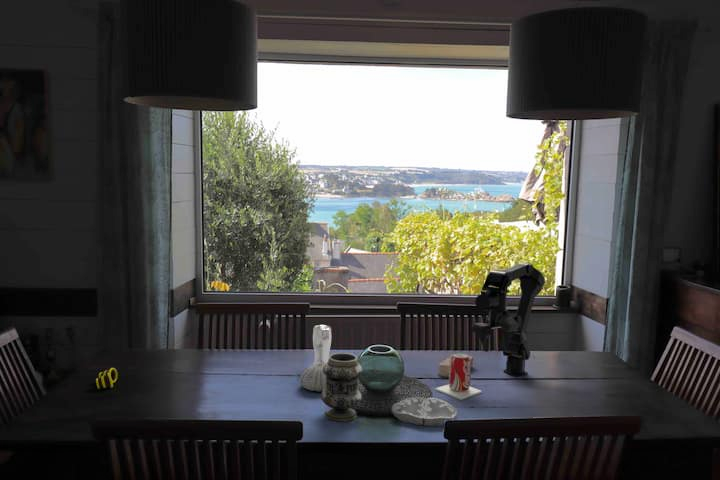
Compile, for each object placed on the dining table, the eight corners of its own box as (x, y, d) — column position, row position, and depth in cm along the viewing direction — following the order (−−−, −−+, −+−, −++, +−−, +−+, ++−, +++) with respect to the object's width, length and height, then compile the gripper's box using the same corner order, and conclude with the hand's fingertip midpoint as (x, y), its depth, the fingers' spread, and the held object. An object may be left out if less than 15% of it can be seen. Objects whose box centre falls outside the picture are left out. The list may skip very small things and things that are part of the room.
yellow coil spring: (102, 382, 197) (99, 369, 197) (118, 379, 199) (115, 365, 198) (96, 392, 188) (93, 378, 187) (113, 388, 189) (110, 374, 188)
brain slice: (456, 408, 180) (456, 399, 180) (457, 431, 164) (457, 421, 163) (394, 403, 183) (394, 394, 183) (388, 425, 167) (388, 415, 166)
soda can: (459, 394, 190) (461, 359, 189) (444, 388, 195) (445, 353, 194) (474, 390, 194) (475, 355, 193) (458, 384, 200) (460, 350, 199)
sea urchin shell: (309, 378, 204) (309, 356, 203) (345, 384, 200) (345, 361, 199) (293, 391, 192) (293, 367, 191) (330, 397, 187) (331, 373, 186)
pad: (456, 383, 202) (456, 381, 202) (481, 392, 194) (481, 390, 194) (435, 390, 195) (435, 388, 195) (460, 399, 187) (460, 398, 187)
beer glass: (334, 365, 219) (335, 326, 218) (323, 370, 213) (324, 330, 212) (319, 362, 223) (320, 324, 222) (308, 366, 217) (309, 327, 216)
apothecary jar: (362, 423, 167) (364, 362, 165) (321, 423, 166) (322, 362, 164) (359, 407, 179) (360, 350, 177) (320, 407, 178) (321, 350, 176)
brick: (459, 379, 207) (459, 367, 207) (437, 375, 211) (437, 363, 211) (473, 367, 222) (474, 356, 221) (452, 364, 226) (453, 352, 225)
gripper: (494, 314, 190) (492, 360, 192) (534, 308, 200) (532, 352, 201) (471, 307, 200) (470, 351, 201) (510, 302, 209) (509, 343, 211)
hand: (496, 349), depth 204 cm, fingers open, 9 cm apart
